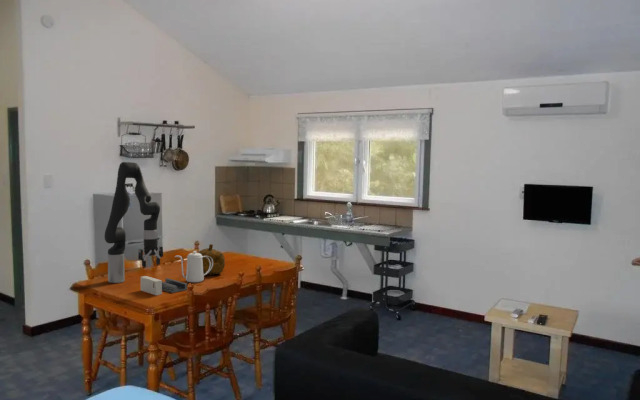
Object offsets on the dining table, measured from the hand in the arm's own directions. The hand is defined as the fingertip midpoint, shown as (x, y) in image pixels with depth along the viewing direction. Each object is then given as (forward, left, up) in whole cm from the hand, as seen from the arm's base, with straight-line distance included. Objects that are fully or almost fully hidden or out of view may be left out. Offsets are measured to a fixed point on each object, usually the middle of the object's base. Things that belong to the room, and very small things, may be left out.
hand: (151, 266), depth 295 cm
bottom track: (0, +13, -15) cm, 20 cm away
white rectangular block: (0, 0, -15) cm, 15 cm away
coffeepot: (-5, +33, -15) cm, 37 cm away
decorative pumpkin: (-14, +52, -15) cm, 56 cm away
